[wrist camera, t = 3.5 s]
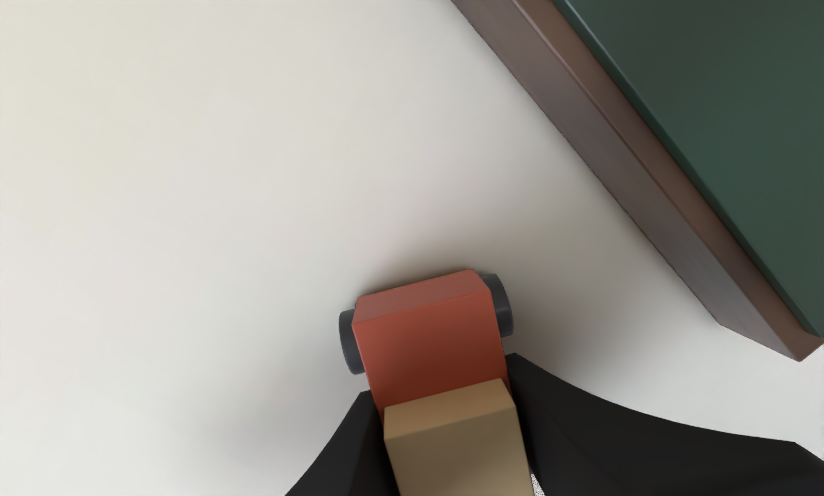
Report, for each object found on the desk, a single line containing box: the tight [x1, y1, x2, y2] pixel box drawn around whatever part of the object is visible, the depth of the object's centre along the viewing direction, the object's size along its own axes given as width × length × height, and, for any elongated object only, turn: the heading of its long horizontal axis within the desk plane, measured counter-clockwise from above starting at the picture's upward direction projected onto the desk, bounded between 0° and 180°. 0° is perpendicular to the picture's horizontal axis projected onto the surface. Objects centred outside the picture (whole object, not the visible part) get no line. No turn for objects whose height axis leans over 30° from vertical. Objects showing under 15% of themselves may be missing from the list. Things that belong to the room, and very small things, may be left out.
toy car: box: [339, 269, 535, 496], centre depth 11 cm, size 7×5×4 cm, turn 14°
